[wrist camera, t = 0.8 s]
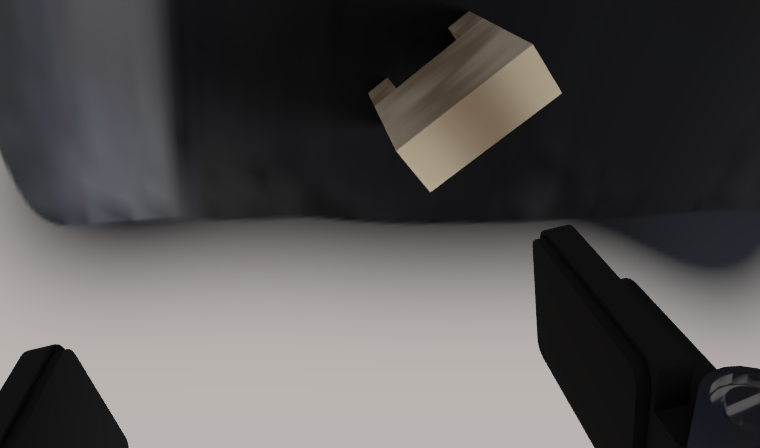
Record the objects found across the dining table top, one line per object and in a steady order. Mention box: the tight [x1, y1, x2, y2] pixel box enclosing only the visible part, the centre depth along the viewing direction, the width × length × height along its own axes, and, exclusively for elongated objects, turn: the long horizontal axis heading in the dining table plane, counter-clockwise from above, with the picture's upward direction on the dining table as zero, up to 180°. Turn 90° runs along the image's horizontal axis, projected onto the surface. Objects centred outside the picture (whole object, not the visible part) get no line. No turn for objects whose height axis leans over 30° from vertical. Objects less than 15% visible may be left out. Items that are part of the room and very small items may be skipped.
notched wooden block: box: [368, 11, 562, 192], centre depth 28 cm, size 7×3×9 cm, turn 128°
